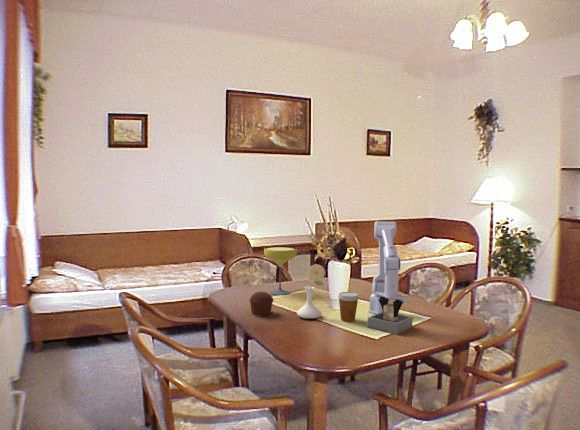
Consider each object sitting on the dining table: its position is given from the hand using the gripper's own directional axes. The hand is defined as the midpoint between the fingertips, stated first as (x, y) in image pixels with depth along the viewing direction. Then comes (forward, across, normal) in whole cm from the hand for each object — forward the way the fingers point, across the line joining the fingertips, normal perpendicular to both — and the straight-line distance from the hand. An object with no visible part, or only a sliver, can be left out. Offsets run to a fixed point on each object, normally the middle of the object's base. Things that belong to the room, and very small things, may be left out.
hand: (390, 315), depth 208 cm
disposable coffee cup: (+5, -20, -4) cm, 21 cm away
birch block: (+2, 0, 0) cm, 2 cm away
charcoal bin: (+5, 0, 0) cm, 5 cm away
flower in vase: (+5, -34, -12) cm, 37 cm away
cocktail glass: (+5, -76, +14) cm, 77 cm away
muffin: (+5, -56, -22) cm, 60 cm away
